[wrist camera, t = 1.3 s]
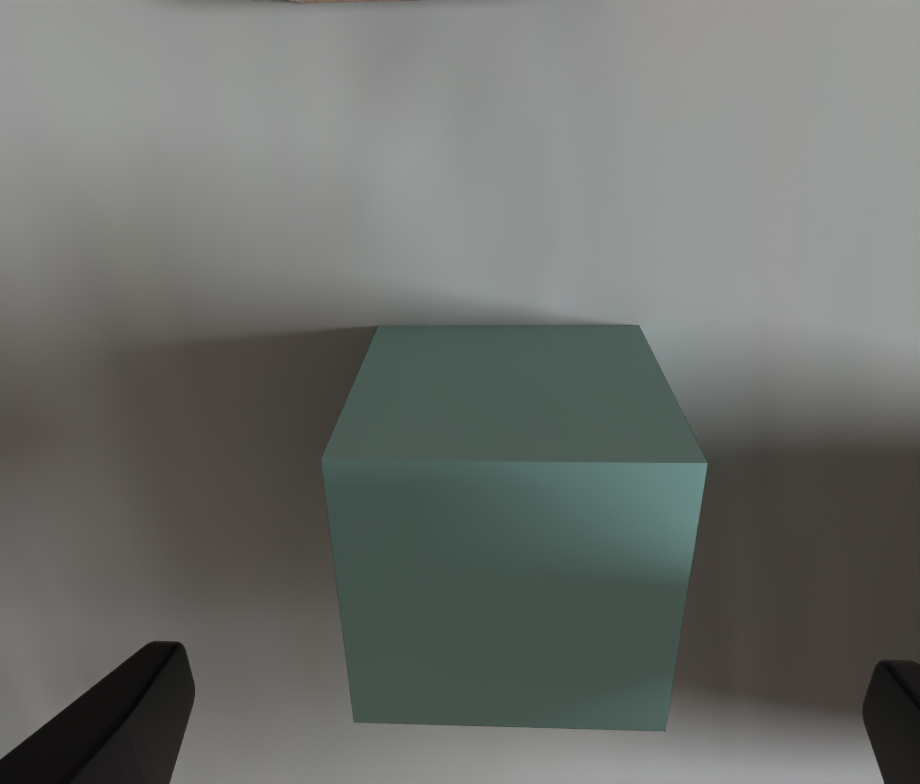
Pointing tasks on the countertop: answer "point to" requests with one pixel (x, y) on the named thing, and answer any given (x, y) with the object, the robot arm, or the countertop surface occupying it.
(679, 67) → the countertop surface
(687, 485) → the block
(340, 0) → the dish
